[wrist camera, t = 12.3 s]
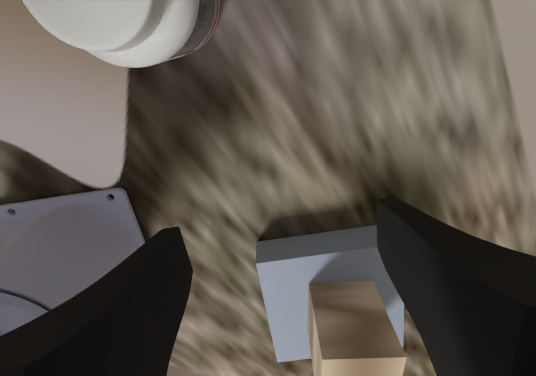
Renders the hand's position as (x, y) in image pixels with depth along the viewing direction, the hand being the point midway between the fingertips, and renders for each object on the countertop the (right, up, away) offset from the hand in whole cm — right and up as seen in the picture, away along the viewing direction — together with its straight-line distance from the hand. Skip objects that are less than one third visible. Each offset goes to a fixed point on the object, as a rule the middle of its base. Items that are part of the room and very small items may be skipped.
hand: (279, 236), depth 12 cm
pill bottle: (-6, +12, +6) cm, 15 cm away
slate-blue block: (+4, -6, +15) cm, 16 cm away
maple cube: (+5, -7, +12) cm, 15 cm away
